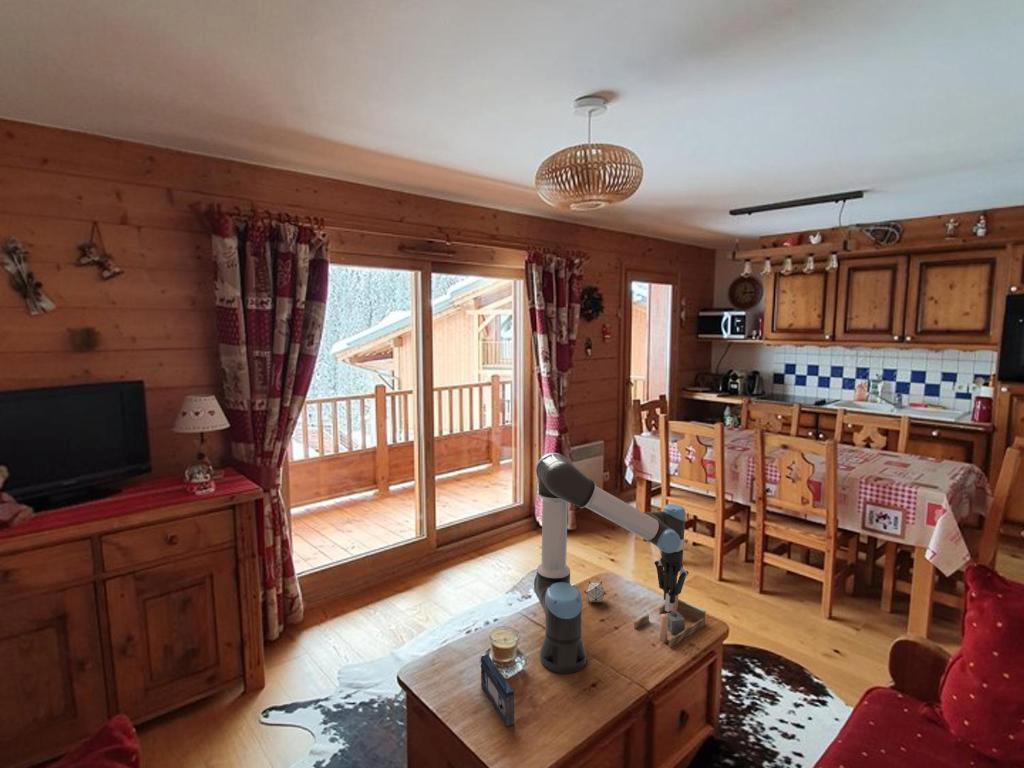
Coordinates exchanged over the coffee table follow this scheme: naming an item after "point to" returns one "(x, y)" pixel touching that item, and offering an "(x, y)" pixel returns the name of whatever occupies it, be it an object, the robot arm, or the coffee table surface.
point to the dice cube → (675, 622)
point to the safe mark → (695, 607)
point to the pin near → (664, 628)
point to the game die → (595, 592)
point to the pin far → (675, 604)
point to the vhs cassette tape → (497, 690)
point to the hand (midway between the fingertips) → (668, 609)
